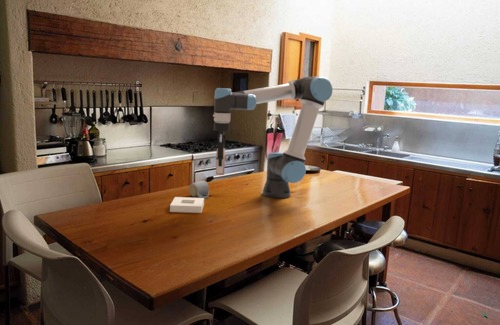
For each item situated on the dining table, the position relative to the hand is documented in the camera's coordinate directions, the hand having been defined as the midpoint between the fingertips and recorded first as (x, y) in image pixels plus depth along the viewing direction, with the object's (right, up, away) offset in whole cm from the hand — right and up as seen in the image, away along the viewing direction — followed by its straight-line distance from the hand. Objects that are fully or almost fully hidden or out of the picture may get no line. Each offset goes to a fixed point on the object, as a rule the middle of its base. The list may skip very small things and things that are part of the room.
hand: (220, 171), depth 193 cm
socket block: (-15, -17, -2) cm, 23 cm away
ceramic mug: (-11, -13, +19) cm, 26 cm away
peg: (0, -1, 0) cm, 1 cm away
